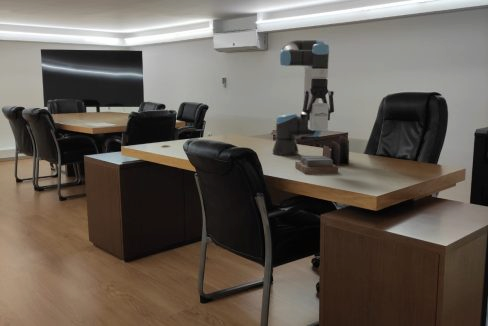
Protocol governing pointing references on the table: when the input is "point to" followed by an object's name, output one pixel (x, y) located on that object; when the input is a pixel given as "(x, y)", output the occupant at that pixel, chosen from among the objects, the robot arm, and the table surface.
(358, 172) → the table surface
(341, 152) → the letter holder
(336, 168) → the riser
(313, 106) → the supplement box
